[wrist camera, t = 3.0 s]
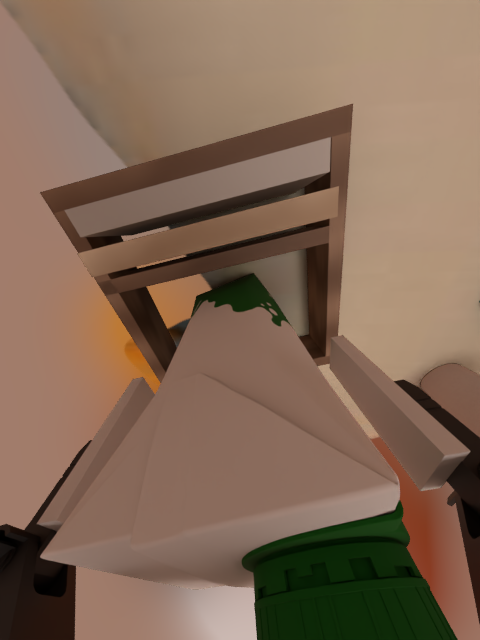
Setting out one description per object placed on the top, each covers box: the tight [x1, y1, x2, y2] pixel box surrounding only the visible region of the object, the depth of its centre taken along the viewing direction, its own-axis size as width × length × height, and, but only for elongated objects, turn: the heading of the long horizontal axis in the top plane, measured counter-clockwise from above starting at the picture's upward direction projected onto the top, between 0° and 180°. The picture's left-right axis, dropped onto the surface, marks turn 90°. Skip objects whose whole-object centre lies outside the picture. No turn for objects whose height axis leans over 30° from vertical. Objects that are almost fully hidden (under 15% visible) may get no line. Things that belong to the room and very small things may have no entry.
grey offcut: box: [64, 137, 331, 237], centre depth 13 cm, size 2×16×6 cm, turn 103°
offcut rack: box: [40, 104, 353, 383], centre depth 17 cm, size 21×20×4 cm
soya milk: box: [40, 273, 457, 640], centre depth 12 cm, size 9×9×20 cm
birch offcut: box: [78, 186, 339, 277], centre depth 14 cm, size 2×16×8 cm, turn 103°
